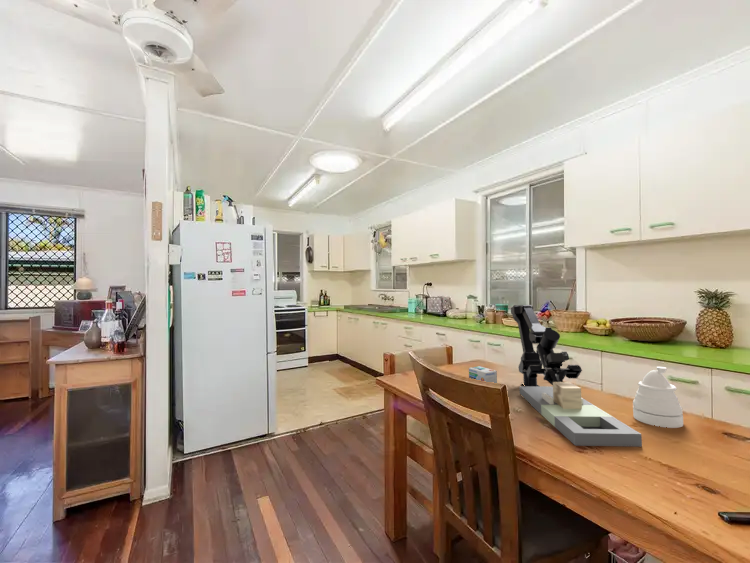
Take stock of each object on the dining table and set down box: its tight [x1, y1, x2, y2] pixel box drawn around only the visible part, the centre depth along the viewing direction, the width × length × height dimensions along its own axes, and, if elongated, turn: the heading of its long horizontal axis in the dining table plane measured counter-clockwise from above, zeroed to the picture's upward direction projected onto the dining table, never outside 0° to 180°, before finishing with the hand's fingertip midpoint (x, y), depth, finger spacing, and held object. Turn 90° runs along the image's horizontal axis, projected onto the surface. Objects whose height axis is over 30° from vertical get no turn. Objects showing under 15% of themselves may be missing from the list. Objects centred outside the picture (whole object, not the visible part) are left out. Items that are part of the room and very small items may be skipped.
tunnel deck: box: [519, 385, 643, 448], centre depth 119 cm, size 47×18×6 cm, turn 175°
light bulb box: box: [468, 365, 498, 384], centre depth 145 cm, size 11×7×11 cm, turn 25°
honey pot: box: [632, 366, 684, 429], centre depth 113 cm, size 13×13×18 cm
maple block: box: [552, 381, 582, 409], centre depth 119 cm, size 8×6×7 cm
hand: (561, 391), depth 124 cm, fingers closed, pressing on maple block
